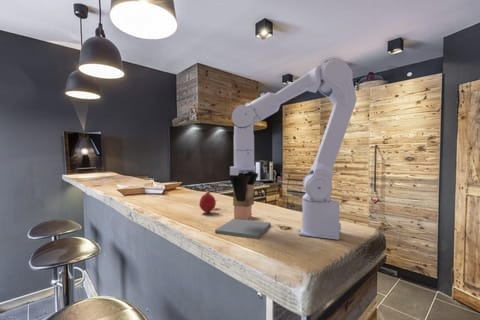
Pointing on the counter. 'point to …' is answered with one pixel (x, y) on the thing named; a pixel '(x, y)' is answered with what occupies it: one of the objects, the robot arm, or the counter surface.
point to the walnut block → (248, 199)
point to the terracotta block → (242, 212)
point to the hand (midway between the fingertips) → (244, 199)
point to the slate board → (244, 228)
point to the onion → (207, 202)
